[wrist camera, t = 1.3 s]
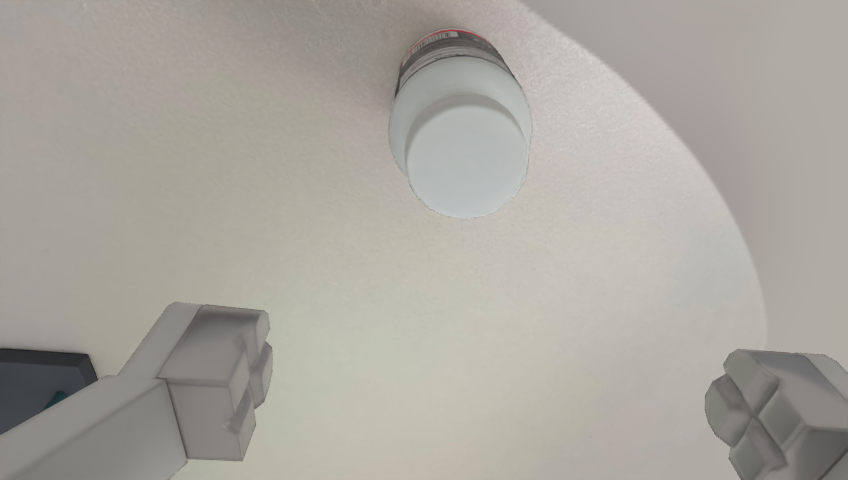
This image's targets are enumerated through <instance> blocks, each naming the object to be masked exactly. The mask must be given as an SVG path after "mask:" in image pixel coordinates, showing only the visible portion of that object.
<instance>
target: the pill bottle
mask: <svg viewBox="0 0 848 480" xmlns="http://www.w3.org/2000/svg"><path fill="white" fill-rule="evenodd" d="M531 138H532V117H531V111H530V107H529V104H528V101H527V98H526V96H525V93H524V92H523V90H522V88H521V86H520V84H519V83H518V82H517V80H516V79H515V77H514V75H513V74H512V73H511V71H510V69H509V68H508V67H507V65H506V63H505V62H504V60H503V58H502V57H501V55H500V54H499V53H498V51H497V50H496V49H495V48H494V47H493V45H492V44H491V43H490V42H489V41H487V40H486V39H485V38H483V37H482V36H480V35H478V34H477V33H474V32H472V31H469V30H466V29H460V28H446V29H440V30H437V31H434V32H431V33H429V34H427V35H425V36H424V37H422V38H421V39H420V40H418V41H417V42H416V43H415V44H414V45H413V46H412V47H411V48H410V49H409V51H408V52H407V54H406V55H405V57H404V59H403V60H402V63H401V65H400V68H399V71H398V76H397V81H396V85H395V91H394V97H393V103H392V108H391V113H390V118H389V142H390V147H391V150H392V153H393V156H394V159H395V161H396V163H397V165H398V167H399V168H400V170H401V171H402V173H403V174H404V175H405V176H406V177H407V179H408V181H409V184H410V186H411V188H412V190H413V192H414V193H415V195H416V196H417V197H418V198H419V200H420V201H421V202H422V203H423V204H424V205H426V206H427V207H428V208H430V209H431V210H433V211H435V212H437V213H439V214H441V215H444V216H448V217H451V218H458V219H469V218H477V217H481V216H485V215H487V214H490V213H493V212H495V211H497V210H498V209H500V208H501V207H503V206H504V205H505V204H507V203H508V202H509V201H510V200H511V199H512V198H513V197H514V196H515V194H516V193H517V192H518V191H519V189H520V187H521V186H522V184H523V181H524V179H525V176H526V173H527V169H528V162H529V157H528V150H529V147H530V143H531Z"/></svg>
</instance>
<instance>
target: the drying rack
mask: <svg viewBox="0 0 848 480" xmlns="http://www.w3.org/2000/svg"><path fill="white" fill-rule="evenodd" d="M96 381H98V380H97V377H96V375H95V372H94V370H93V367H92V365H91V362H90V360H89V357H88V355H81V354H67V353H52V352H37V351H23V350H8V349H0V435H1V434H3V433H5V432H7V431H9V430H10V429H12V428H14V427H16V426H18V425H19V424H21V423H23V422H25V421H26V420H28V419H30V418H32V417H34V416H35V415H37V414H39V413H41V412H42V411H44V410H46V409H48V408H50V407H51V406H53V405H55V404H57V403H58V402H60V401H62V400H64V399H66V398H67V397H69V396H71V395H73V394H75V393H76V392H78V391H80V390H82V389H83V388H85V387H87V386H89V385H91V384H92V383H94V382H96Z"/></svg>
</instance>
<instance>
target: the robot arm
mask: <svg viewBox="0 0 848 480" xmlns="http://www.w3.org/2000/svg"><path fill="white" fill-rule="evenodd" d="M269 330H270V324H269V316H268V313H267V312H266V311H264V310H255V309H245V308H236V307H226V306H217V305H207V304H206V305H201V304H192V303H182V302H174V303H172V304H171V305H169V306H167V307H166V309H165V310H164V311H163V313H162V314H161V316H160V317H159V318H158V320H157V321H156V323H155V324H154V325H153V327H152V328H151V329H150V331H149V332H148V334H147V335H146V336H145V338H144V339H143V341H142V342H141V343H140V345H139V346H138V347H137V349H136V350H135V352H134V353H133V354H132V356H131V357H130V359H129V360H128V361H127V363H126V364H125V366H124V367H123V368H122V370H121V371H120V372H119V374H118V375H117V376H111V375H107V376H105V377H103V378H101V379H99V380H98V381H96V382H94V383H92V384H91V385H89V386H87V387H85V388H83V389H82V390H80V391H78V392H76V393H75V394H73V395H71V396H69V397H67V398H66V399H64V400H62V401H60V402H58V403H57V404H55V405H53V406H51V407H50V408H48V409H46V410H44V411H42V412H41V413H39V414H37V415H35V416H34V417H32V418H30V419H28V420H26V421H25V422H23V423H21V424H19V425H18V426H16V427H14V428H12V429H10V430H9V431H7V432H5V433H3V434H1V435H0V480H169V479H170V478H171V477H173V476H174V475H175V474H176V473H177V472H178V471H179V470H180V469H181V468H182V467H183V466H184V465H185V464H186V463H187V462H188V461H187V459H199V460H224V461H243V459H244V456H245V453H246V451H247V448H248V445H249V442H250V440H251V437H252V434H253V432H254V429H255V426H256V421H255V413H254V410H255V409H256V408H257V407H258V406H260V405H261V404H262V403H263V402H264V401H265V398H266V395H267V392H268V389H269V385H270V380H271V375H272V366H273V354H272V347H271V346H270V345H269V344H268V343H267V342H266V341H265V340H266V337H267V335H268V332H269ZM723 366H724V369H725V372H726V374H725V375H723V376H721V377H720V378H718V379H716V380H715V381H713V382H712V383H711V385H710V387H709V389H708V391H707V393H706V395H705V413H706V416H707V420H708V423H709V425H710V426H711V428H712V430H713V432H714V434H715V435H716V436H717V437H718V438H720V439H721V440H722V441H723V442H725V443H726V444H727V445H729V446H730V453H729V460H730V461H731V463H732V465H733V466H734V468H735V470H736V472H737V474H738V475H739V477H740V479H741V480H848V373H847V372H846V370H845V369H844V368H843V367H842V366H841V365H840V364H839V363H838V362H837V361H835V360H833V359H832V358H830V357H828V356H826V355H822V354H807V353H787V352H773V351H760V350H746V349H737V350H735V351H734V352H732V353H731V354H729V356H728V357H727V359H726V360H725V362H724V364H723Z"/></svg>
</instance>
